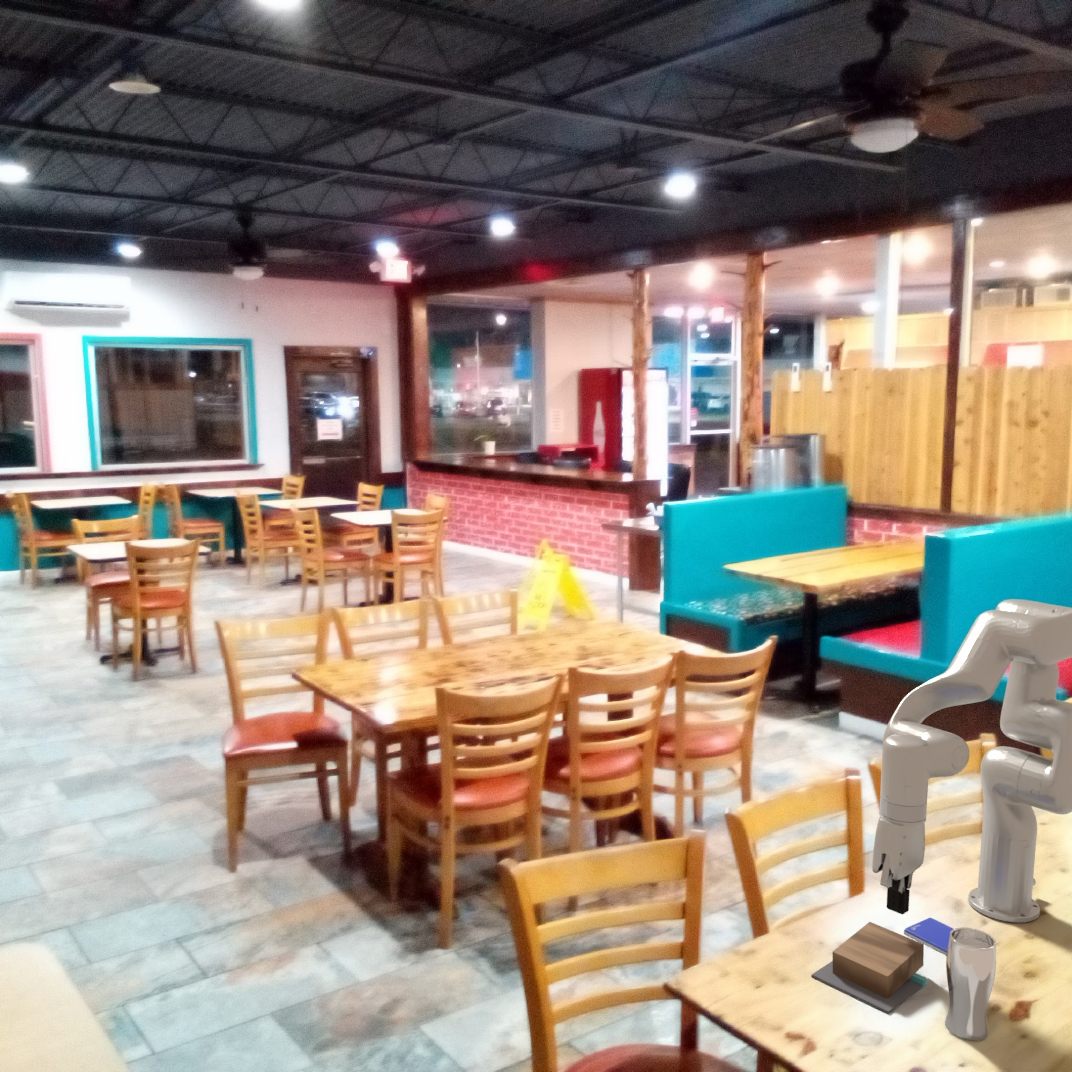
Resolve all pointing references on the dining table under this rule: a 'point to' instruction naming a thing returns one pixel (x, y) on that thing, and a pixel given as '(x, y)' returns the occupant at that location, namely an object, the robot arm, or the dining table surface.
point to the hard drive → (931, 934)
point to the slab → (878, 959)
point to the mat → (864, 994)
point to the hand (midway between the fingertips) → (897, 909)
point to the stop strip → (918, 979)
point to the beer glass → (969, 981)
